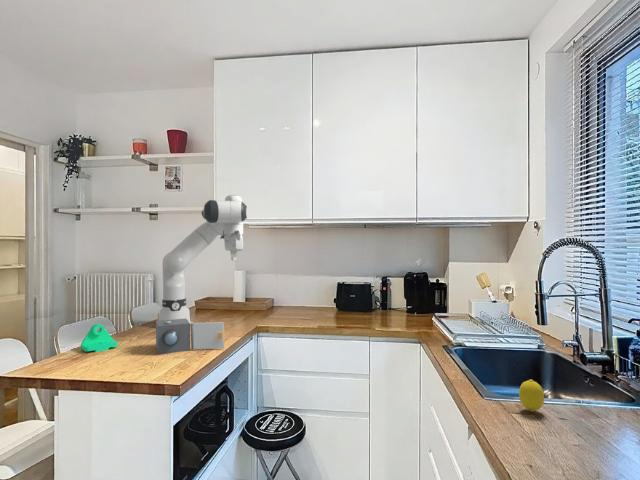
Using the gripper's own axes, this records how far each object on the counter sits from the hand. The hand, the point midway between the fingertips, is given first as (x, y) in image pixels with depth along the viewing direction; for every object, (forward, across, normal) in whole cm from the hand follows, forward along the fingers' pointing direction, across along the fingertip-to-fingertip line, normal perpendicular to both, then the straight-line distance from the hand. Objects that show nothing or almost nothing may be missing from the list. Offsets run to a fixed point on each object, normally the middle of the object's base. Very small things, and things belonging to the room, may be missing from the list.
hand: (233, 260), depth 184 cm
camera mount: (+36, +5, +55) cm, 66 cm away
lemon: (+35, -117, -45) cm, 130 cm away
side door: (+35, -18, +16) cm, 42 cm away
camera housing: (+35, -11, +28) cm, 46 cm away
